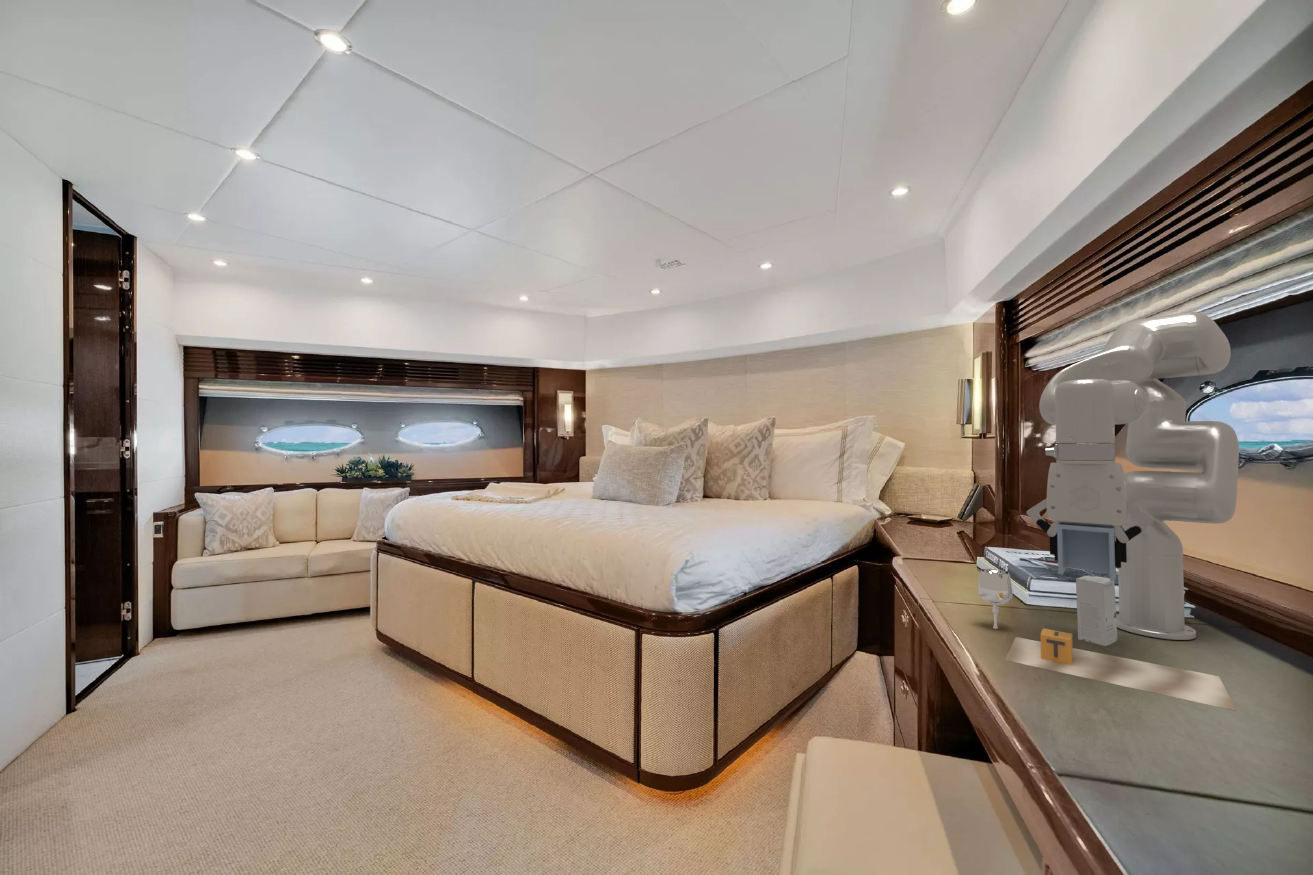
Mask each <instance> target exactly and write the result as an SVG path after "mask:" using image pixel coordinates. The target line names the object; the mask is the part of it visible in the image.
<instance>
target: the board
mask: <svg viewBox="0 0 1313 875" xmlns="http://www.w3.org/2000/svg"><path fill="white" fill-rule="evenodd" d="M1072 652H1073V658H1072V665H1069V664H1064V663H1059V662H1054V661H1050V660H1045V659H1041V641H1039V640H1034V639H1033V640H1032V639H1029V638H1023V637H1018V636H1016V637H1015V638H1014V639H1013V642H1012V644H1011V647H1010V648H1009V650H1008V653H1007V654H1006V656H1005V659H1004V661H1007V662H1012V663H1017V664H1021V665H1026V666H1029V667H1035V668H1038V669H1044V670H1047V671H1053V672H1057V673H1062V674H1065V675H1071V676H1075V677H1078V678H1084V679H1088V680H1094V681H1098V682H1101V683H1102V682H1103V683H1107V684H1111V685H1117V686H1121V687H1124V688H1125V687H1126V688H1131V689H1135V690H1138V691H1143V692H1148V693H1152V694H1156V695H1157V694H1158V695H1162V696H1166V697H1171V698H1175V699H1179V700H1185V701H1190V702H1194V703H1198V704H1203V705H1207V706H1212V707H1215V708H1221V709H1225V710H1231V711H1235V712H1237V709H1236V707H1235V705H1234V703H1233V701H1232V698H1231V697H1230V695H1229V693H1228V691H1227V689H1226V687H1225V686H1224V683H1223V681H1222V679H1221V678H1220V676H1219V675H1214V674H1209V673H1205V672H1204V673H1203V672H1198V671H1194V670H1188V669H1183V668H1177V667H1173V666H1168V665H1163V664H1158V663H1157V664H1156V663H1152V662H1147V661H1143V660H1142V661H1141V660H1137V659H1131V658H1126V657H1121V656H1117V655H1116V656H1115V655H1110V654H1105V653H1100V652H1096V651H1089V650H1085V649H1079V648H1074V647H1072Z"/></svg>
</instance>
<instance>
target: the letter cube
mask: <svg viewBox="0 0 1313 875" xmlns="http://www.w3.org/2000/svg"><path fill="white" fill-rule="evenodd" d="M1040 642H1041V659H1045V660H1050V661H1054V662H1059V663H1064V664H1069V665H1072V658H1073V652H1072V648H1073V633H1071V632H1064V631H1059V630H1055V629H1049V628H1042V629H1041V632H1040Z"/></svg>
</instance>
